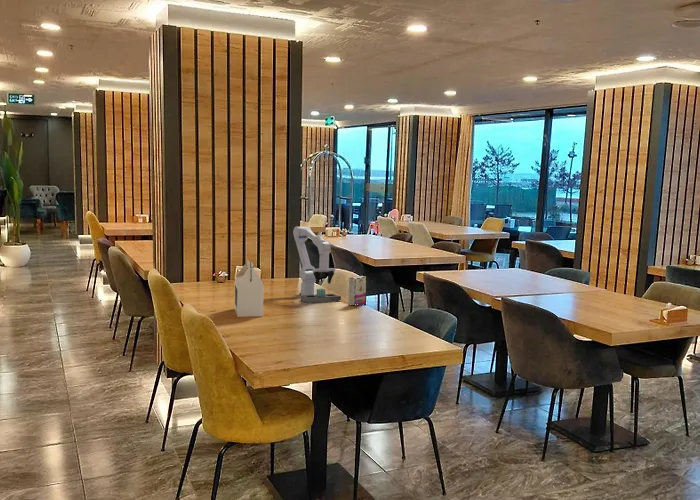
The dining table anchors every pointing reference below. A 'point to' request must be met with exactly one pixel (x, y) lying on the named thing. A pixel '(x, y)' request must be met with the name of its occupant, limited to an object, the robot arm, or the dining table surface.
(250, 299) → the gable box
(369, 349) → the dining table surface
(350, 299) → the candy bar box
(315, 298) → the rail
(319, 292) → the square peg
